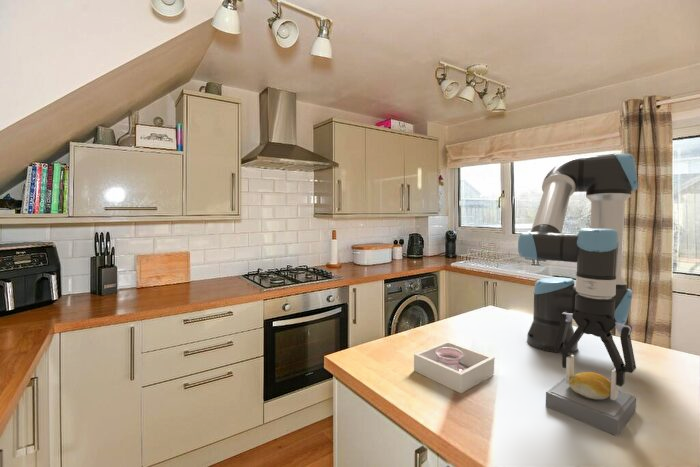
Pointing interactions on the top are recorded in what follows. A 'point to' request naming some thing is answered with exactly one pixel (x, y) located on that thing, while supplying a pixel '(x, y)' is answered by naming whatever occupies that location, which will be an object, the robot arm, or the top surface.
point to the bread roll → (591, 385)
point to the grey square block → (592, 407)
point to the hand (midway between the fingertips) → (590, 389)
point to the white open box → (456, 380)
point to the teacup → (450, 357)
